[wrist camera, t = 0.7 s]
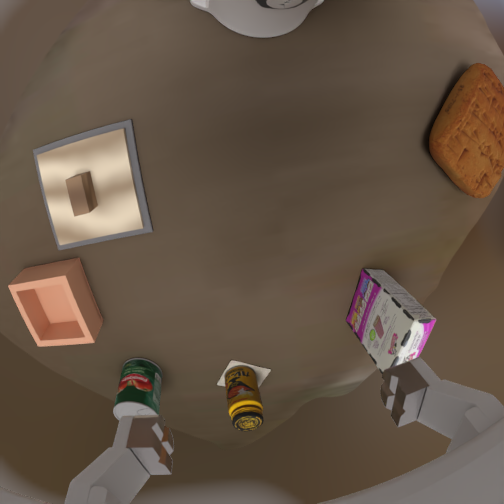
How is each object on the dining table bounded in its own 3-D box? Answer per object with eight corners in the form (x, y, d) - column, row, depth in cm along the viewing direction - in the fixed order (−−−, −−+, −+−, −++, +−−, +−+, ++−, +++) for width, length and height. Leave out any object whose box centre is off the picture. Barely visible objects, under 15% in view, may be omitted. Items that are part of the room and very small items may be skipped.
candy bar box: (367, 319, 55) (408, 377, 40) (344, 320, 54) (384, 382, 40) (385, 267, 51) (438, 319, 36) (361, 266, 50) (413, 321, 35)
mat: (35, 149, 34) (33, 150, 34) (131, 119, 36) (130, 119, 35) (60, 248, 41) (58, 250, 40) (153, 230, 42) (152, 231, 42)
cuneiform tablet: (458, 57, 36) (489, 55, 29) (501, 119, 42) (529, 124, 35) (410, 143, 42) (441, 150, 35) (459, 200, 48) (487, 214, 41)
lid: (39, 154, 34) (24, 158, 30) (124, 128, 35) (115, 129, 32) (61, 243, 40) (50, 254, 36) (144, 226, 41) (138, 237, 37)
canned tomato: (142, 390, 55) (136, 433, 45) (114, 367, 52) (103, 410, 42) (170, 376, 54) (168, 421, 44) (143, 351, 51) (135, 397, 41)
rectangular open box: (24, 268, 41) (8, 285, 36) (79, 257, 42) (65, 275, 37) (50, 326, 46) (38, 346, 41) (103, 320, 47) (94, 342, 42)
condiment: (231, 359, 54) (238, 409, 43) (271, 368, 57) (284, 416, 46) (216, 383, 56) (221, 432, 46) (254, 391, 59) (264, 438, 48)
